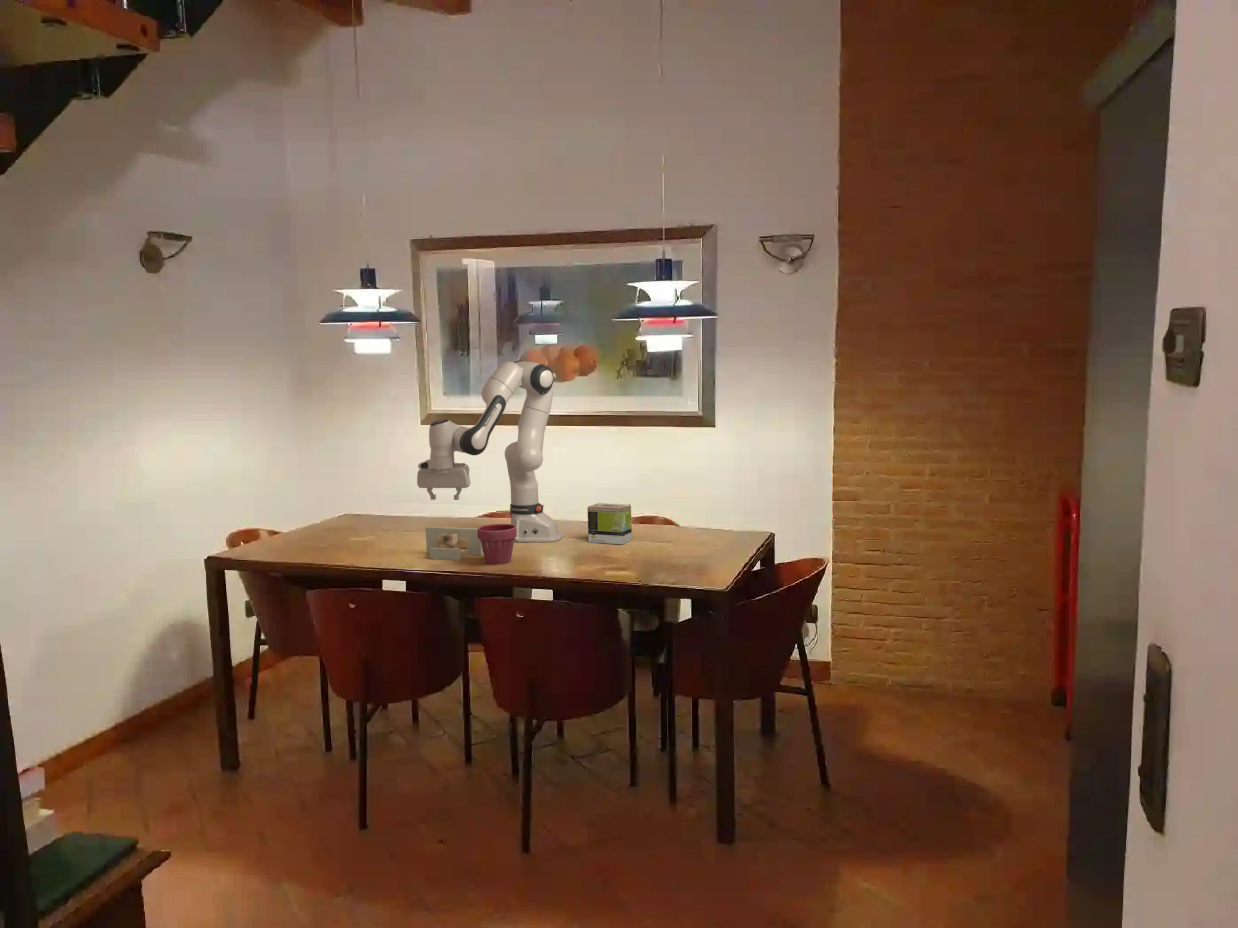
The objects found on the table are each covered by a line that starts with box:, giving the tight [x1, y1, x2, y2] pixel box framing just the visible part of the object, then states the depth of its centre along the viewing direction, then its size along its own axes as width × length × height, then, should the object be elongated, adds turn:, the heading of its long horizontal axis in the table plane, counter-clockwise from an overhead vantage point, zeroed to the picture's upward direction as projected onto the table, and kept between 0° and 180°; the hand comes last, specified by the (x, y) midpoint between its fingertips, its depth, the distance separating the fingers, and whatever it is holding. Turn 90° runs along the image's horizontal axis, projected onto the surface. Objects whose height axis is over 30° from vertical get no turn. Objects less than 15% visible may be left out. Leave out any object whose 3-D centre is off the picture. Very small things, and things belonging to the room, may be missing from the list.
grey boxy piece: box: [425, 526, 484, 561], centre depth 348 cm, size 22×10×10 cm, turn 77°
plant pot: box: [477, 523, 517, 565], centre depth 338 cm, size 14×14×13 cm
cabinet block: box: [440, 533, 458, 549], centre depth 347 cm, size 5×5×6 cm
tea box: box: [587, 502, 633, 545], centre depth 369 cm, size 15×10×15 cm, turn 65°
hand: (444, 499), depth 350 cm, fingers open, 8 cm apart
